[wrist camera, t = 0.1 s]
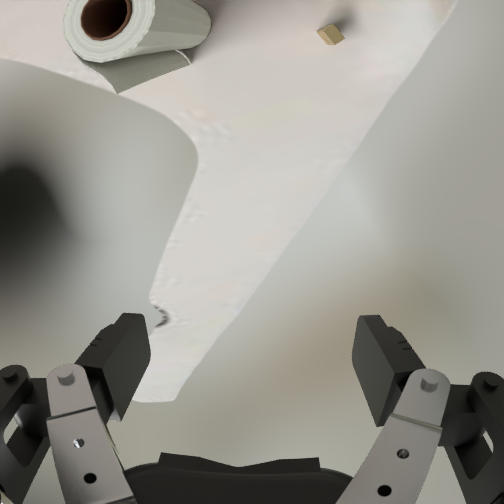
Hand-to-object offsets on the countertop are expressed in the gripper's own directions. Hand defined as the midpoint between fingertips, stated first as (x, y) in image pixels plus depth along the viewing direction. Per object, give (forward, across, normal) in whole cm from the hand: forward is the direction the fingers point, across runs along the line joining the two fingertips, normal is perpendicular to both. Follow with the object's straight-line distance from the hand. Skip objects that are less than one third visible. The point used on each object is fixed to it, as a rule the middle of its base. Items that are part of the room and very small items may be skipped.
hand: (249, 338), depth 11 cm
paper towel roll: (+25, +8, -22) cm, 35 cm away
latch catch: (+25, -8, -22) cm, 34 cm away
